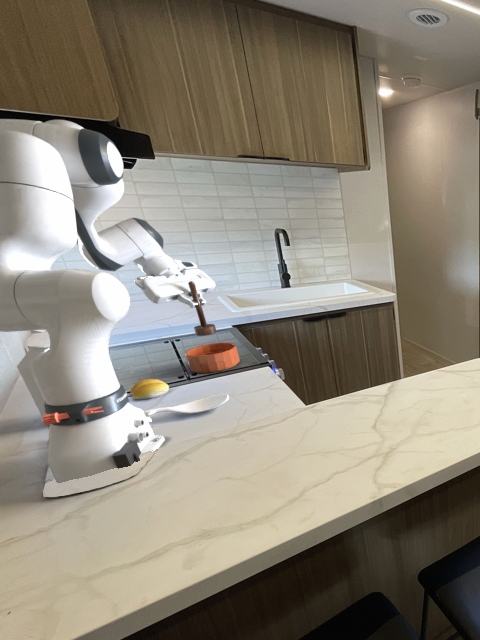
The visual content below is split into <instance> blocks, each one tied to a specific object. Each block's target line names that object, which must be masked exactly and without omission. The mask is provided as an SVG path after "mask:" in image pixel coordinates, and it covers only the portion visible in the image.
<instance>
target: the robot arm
mask: <svg viewBox="0 0 480 640" xmlns="http://www.w3.org/2000/svg"><path fill="white" fill-rule="evenodd" d="M123 177H124V162H123V157H122V155H121V153H120V151H119V149H118V147H117V145H116V144H115V143H114V142H113V141H112V140H111V139H110V138H108V137H107V136H106V135H105V134H103V133H101V132H98V131H95V130H92V129H87V128H84V127H83V126H81V125H79V124H78V123H76V122H73V121H70V120H66V119H51V120H47V121H45V122H43V121H40V120H30V119H16V118H0V332H2V333H15V332H30V331H46V333H48V337H49V346H48V347H49V349H47V350H45V351H44V352H42V353H41V354H39V355H38V356H37V357H36V358H35V359H34V360H33V361H32V363H31V366H30V372H31V374H32V376H33V378H34V380H35V382H36V384H37V386H38V388H39V390H40V392H41V394H42V396H43V398H44V400H45V403H44V407H45V414H44V415H43V416H41V420H42V422H43V424H44V425H45V426H48V425H49V426H48V429H49V430H48V447H47V464H48V466H47V470H46V475H45V478H44V482H45V481H46V480H48V479H52V478H55V480H56V482H57V483H62V482H66V481H69V480H73V479H79V478H83V477H88V476H92V475H95V474H98V473H101V472H104V471H107V470H110V469H114V468H118V469H119V468H123V467H128V466H131V465H132V464H133V463H134V462H138V461H140V457H139V456H140V454H142V453H145V452H148V451H152V450H153V451H155V450H156V449H158V450H159V449H160V448H161V446H162V445H163V444H164V442H165V441H166V439H165V437H164V435H163V434H154V431H153V429H152V427H151V425H150V422H151V423H152V418H151V417H146V416H145V415H144V413H143V411H144V410H143V409H142V408H140V407H137V406H135V405H133V404H131V403H130V402H129V401H130V398H129V396H128V392H127V390H126V389H125V387H124V386H123V384H121V383H120V382H119V379H118V377H117V374H116V371H115V369H114V366H113V363H112V358H111V355H110V350H109V349H110V348H109V347H110V346H109V345H110V338H111V335H112V333H113V330H114V329H115V327H116V326H117V325H118V324H119V323H120V322H121V321H122V320H123V319H124V318H125V317H126V316H127V314H128V313H129V310H130V306H131V299H130V294H129V291H128V289H127V288H126V286H125V285H124V284H123V282H121V281H120V280H119V278H117V277H116V276H114V275H113V274H111V273H109V272H116V271H118V270H120V269H121V268H123V267H125V265H127V264H129V263H132V264H133V265H135V266H136V267H138V268H139V269H140V270H141V272H142V273H143V276H137V277H136V278H135V279H134V280H133V281H134V285H136V286H137V287H138V288H139V289H140V290H141V292H142V293H143V295H145V297H146V298H147V299H148V300H149V301H150V302H151V303H153V304H156V305H159V304H163V303H169V302H173V301H179V302H180V303H182V304H185V305H188V307H190V308H191V309H194V308H195V307H197V305H198V303H197V302H196V301H194V300H193V299H190V298H191V297H192V294H191V291H190V288H189V285H188V283H189V282H190V281H192V282H194V283H195V286H196V290H197V293H198V296H199V300H200V303H201V307H203V306H205V305H206V304H207V301H206V300H205V299H204V297H203V295H206V294H210V293H213V292H214V290H215V289H216V285H217V284H216V282H215V281H214V279H212V277H210V276H209V274H207V273H205V272H204V271H203V270H202V269H199V268H198V265H197V264H196V263H195V262H192V261H186V260H185V261H184V260H178V259H173V258H172V257H171V256H170V255H168V254H166V253H165V252H164V251H163V249H164V238H163V237H162V235H161V234H160V233H159V232H158V230H156V229H155V228H154V227H153V226H152V225H151V224H150V223H149V222H148V221H147V220H145V219H141V218H138V217H130V218H127V219H124V220H122V221H119V222H117V223H115V224H113V225H111V226H109V227H107V228H104V229H102V230H100V231H97V230H96V228H95V221H96V220H97V219H98V218H99V217H100V216H101V215H102V214H103V213H104V212H105V211H108V210H109V209H110V208H112V207H113V206H114V205H116V204H117V203H118V202H119V201H120V200H121V199H122V197H123V195H124V193H125V183H124V179H123ZM76 245H77V248H78V249H79V251H80V254H81V255H82V256H83V258H84V259H85V260H86V261H87V262H88V263H89V264H90V265H91V266H92V267H94V268H95V269H97V270H100V271H97V270H92V269H91V270H90V269H83V268H54V269H52V266H53V265H54V263H55V262H56V261H57V259H58V258H60V257H61V256H62V255H64V254H65V253H68V252H69V251H71V250H72V249H73V248H74V247H75V246H76ZM104 271H106V272H104ZM195 309H196V308H195ZM153 451H152V452H153ZM50 481H52V480H50ZM42 491H43V489H42ZM42 491H41V492H42Z"/></svg>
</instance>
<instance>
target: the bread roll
mask: <svg viewBox="0 0 480 640" xmlns="http://www.w3.org/2000/svg"><path fill="white" fill-rule="evenodd" d="M169 390H170V386H169V385H168V384H167V383H166V382H165V381H162V380H161V379H157V378H145V379H142V380H139V381H137V382H136V383H134V384H133V385H132V387H131V388H130V392H129V393H130V394H131V396H132V397H133V399H135V400H137V401H142V400H143V401H144V400H150V399H154V398H158V397H160V396H163V395H164V394H166V393H168V391H169Z"/></svg>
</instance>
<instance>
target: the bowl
mask: <svg viewBox="0 0 480 640" xmlns="http://www.w3.org/2000/svg"><path fill="white" fill-rule="evenodd" d="M184 357H185V360H186V362H187V365H188V369H189V370H190V371H191V372H194V373H197V374H208V373H209V374H210V373H217V372H222V371H224V370H225V371H226V370H228V369H231V368H233V367H235V366H236V365H238V363H240V362H241V358H240V355H239V352H238V348H237V344H235V343H233V342H213V343H207V344H202V345H197V346H195V347H192V348H189V349H187V350H186V351H185V352H184Z"/></svg>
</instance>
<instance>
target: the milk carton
mask: <svg viewBox="0 0 480 640" xmlns="http://www.w3.org/2000/svg"><path fill="white" fill-rule="evenodd" d="M26 347H27V349H28V351H27V352H26V353H25V355H24V356H23V358H22V359H21V360H20V361H19V363H18V364H17V366H16V368H17V370H18V372H19V375H20V376H21V378H22V380H23V383H24V384H25V386H26V388H27V390H28V393H29V394H30V395H31V398H32V400H33V402H34V404H35V406H36V408H37V410H38V412H39V414H40V416H41V417H42V416H43V415H44V414H45V407H44V403H45V400H44V398H43V396H42V394H41V392H40V390H39V388H38V386H37V384H36V382H35V380H34V378H33V376H32V374H31V372H30V366H31V363H32V361H33V360H34V359H35V358H36V357H37V356H38V355H39V354H41V353H42V352H44V351H45V350H47V349H49V347H50V346H36V345H27V346H26Z"/></svg>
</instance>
